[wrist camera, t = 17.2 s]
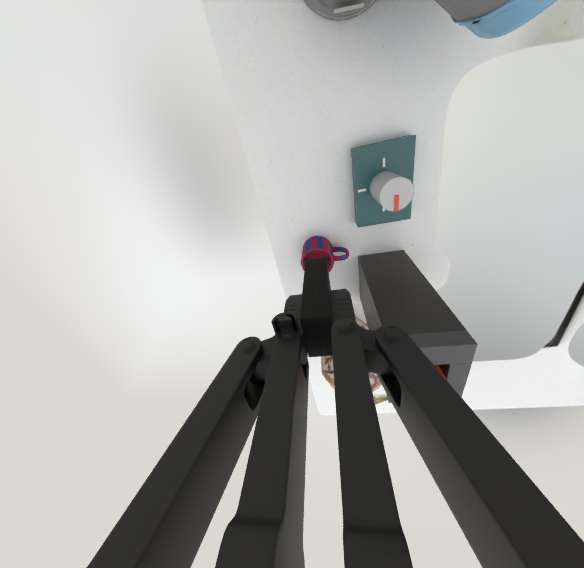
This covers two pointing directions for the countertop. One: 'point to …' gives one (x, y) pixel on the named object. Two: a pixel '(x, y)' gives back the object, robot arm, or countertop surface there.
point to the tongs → (379, 399)
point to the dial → (391, 190)
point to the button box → (415, 313)
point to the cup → (321, 251)
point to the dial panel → (372, 162)
